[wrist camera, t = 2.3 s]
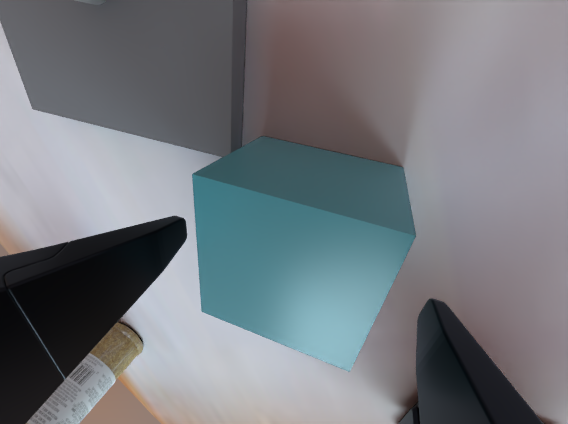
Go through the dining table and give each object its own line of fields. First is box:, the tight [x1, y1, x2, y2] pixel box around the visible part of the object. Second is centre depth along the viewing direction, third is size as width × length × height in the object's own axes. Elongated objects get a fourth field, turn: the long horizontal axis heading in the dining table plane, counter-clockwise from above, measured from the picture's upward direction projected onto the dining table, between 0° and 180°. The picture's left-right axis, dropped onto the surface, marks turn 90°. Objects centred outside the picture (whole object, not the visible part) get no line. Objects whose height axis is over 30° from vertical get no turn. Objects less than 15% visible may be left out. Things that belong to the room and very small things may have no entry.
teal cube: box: [192, 136, 416, 372], centre depth 10 cm, size 6×6×5 cm
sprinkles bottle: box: [26, 322, 143, 424], centre depth 21 cm, size 5×5×13 cm
